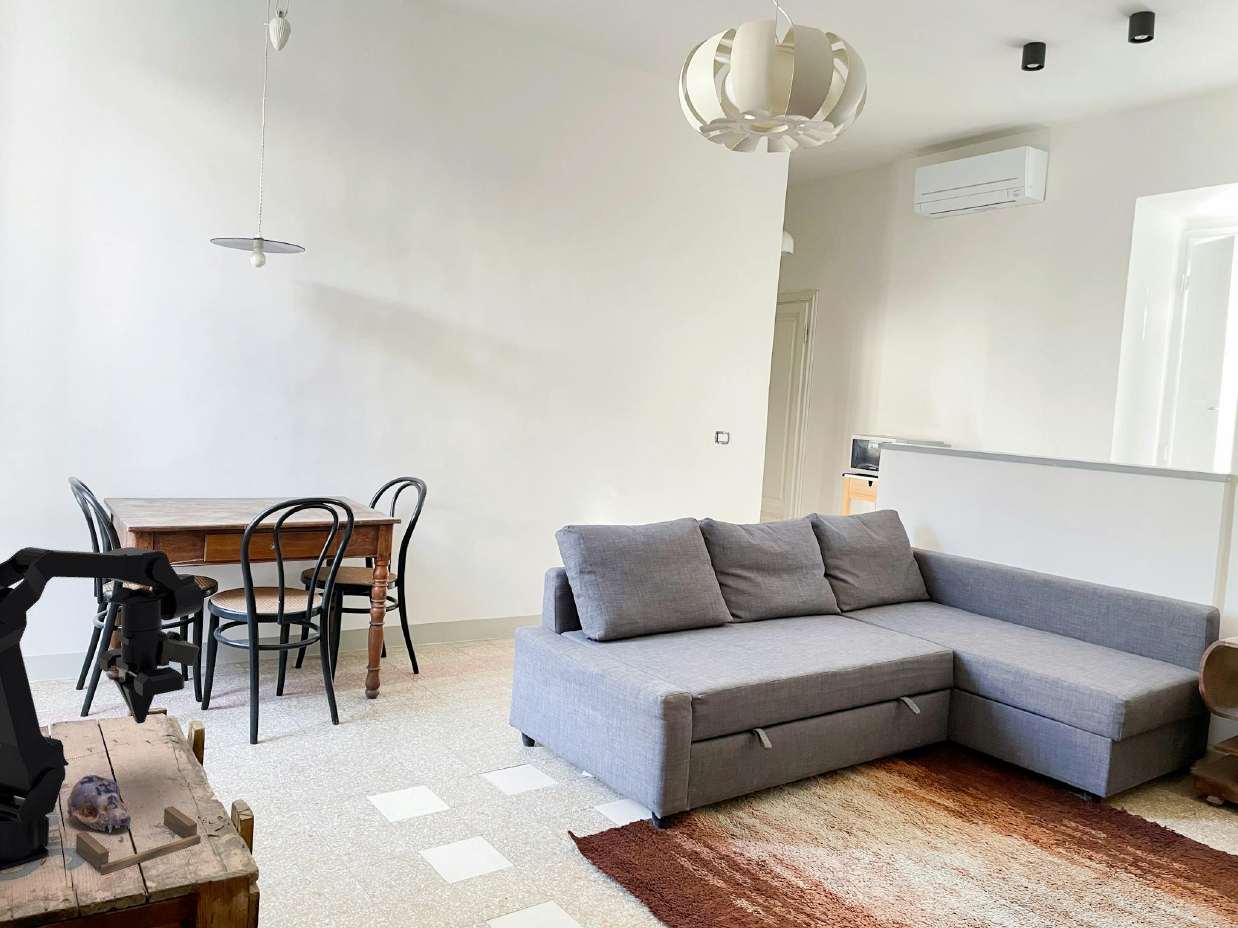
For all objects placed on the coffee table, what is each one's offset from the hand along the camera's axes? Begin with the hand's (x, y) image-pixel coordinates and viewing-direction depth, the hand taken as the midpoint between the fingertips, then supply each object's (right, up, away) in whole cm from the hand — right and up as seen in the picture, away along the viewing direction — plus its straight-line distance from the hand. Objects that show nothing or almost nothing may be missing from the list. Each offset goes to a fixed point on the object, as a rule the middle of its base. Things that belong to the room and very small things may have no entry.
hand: (140, 722), depth 147 cm
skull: (-2, -13, -8) cm, 16 cm away
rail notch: (+7, -14, -15) cm, 21 cm away
